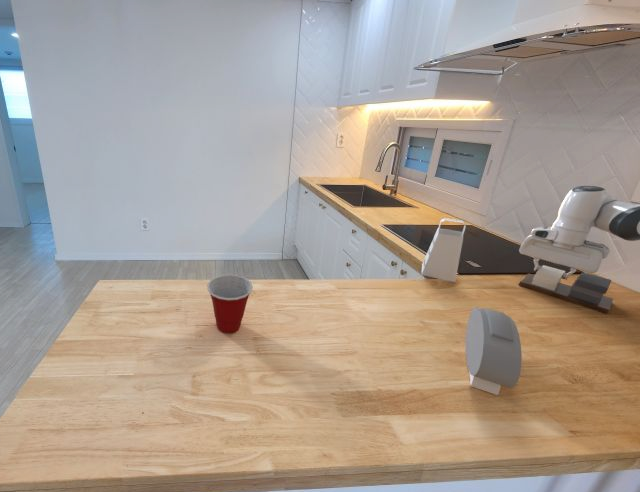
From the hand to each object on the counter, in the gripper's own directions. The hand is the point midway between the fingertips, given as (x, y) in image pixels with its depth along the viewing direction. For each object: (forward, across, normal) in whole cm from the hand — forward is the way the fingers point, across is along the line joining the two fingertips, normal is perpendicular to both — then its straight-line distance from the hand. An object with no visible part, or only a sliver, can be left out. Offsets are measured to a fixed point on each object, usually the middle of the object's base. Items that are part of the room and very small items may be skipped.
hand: (549, 274), depth 114 cm
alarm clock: (+5, 0, +67) cm, 67 cm away
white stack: (+4, 0, 0) cm, 4 cm away
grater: (+5, +27, +21) cm, 34 cm away
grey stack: (+4, -10, 0) cm, 11 cm away
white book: (0, 0, 0) cm, 0 cm away
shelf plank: (+5, -5, 0) cm, 7 cm away
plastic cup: (+5, +44, +104) cm, 113 cm away
